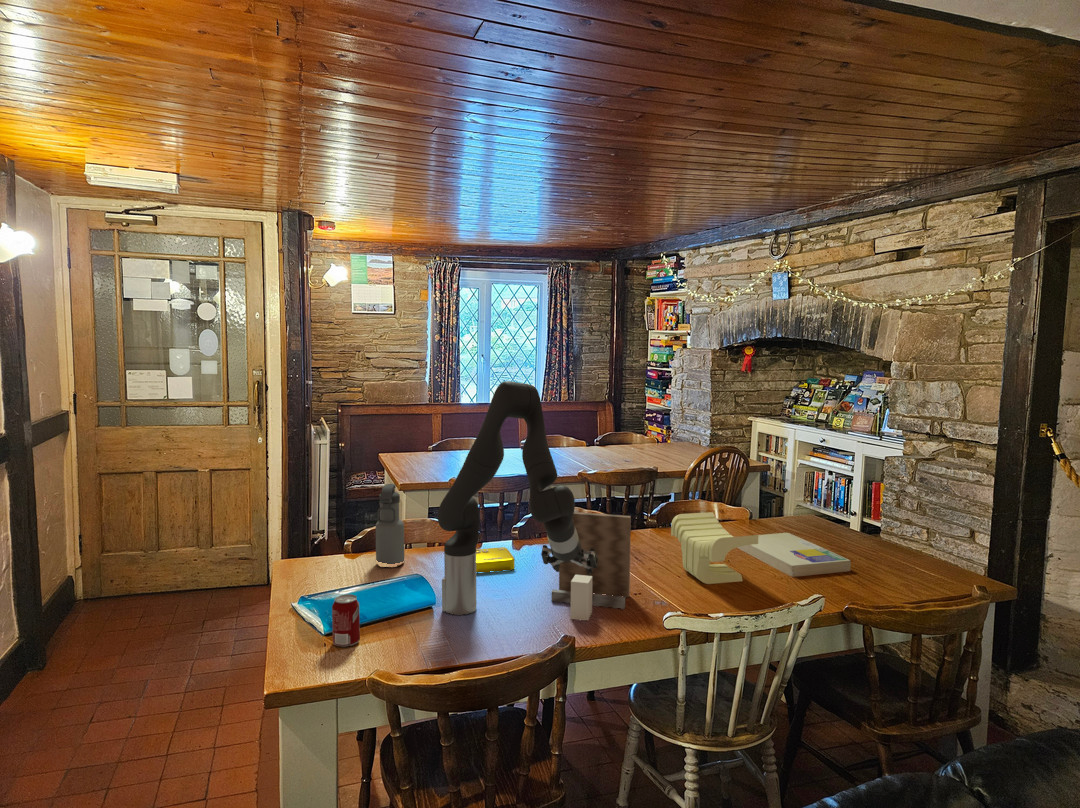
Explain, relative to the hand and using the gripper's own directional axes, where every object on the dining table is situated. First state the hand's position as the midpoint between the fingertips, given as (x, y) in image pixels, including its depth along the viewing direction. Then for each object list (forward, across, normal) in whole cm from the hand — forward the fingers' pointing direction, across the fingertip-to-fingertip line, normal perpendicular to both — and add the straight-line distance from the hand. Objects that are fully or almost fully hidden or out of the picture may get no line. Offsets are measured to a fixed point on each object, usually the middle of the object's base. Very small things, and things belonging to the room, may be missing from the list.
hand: (573, 569), depth 182 cm
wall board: (+31, 0, -6) cm, 31 cm away
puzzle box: (+73, -62, -47) cm, 106 cm away
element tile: (+45, +40, -21) cm, 64 cm away
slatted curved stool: (+53, -35, -28) cm, 69 cm away
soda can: (-4, +55, +28) cm, 62 cm away
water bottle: (+38, +74, -15) cm, 85 cm away
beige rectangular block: (+21, 0, +4) cm, 21 cm away
